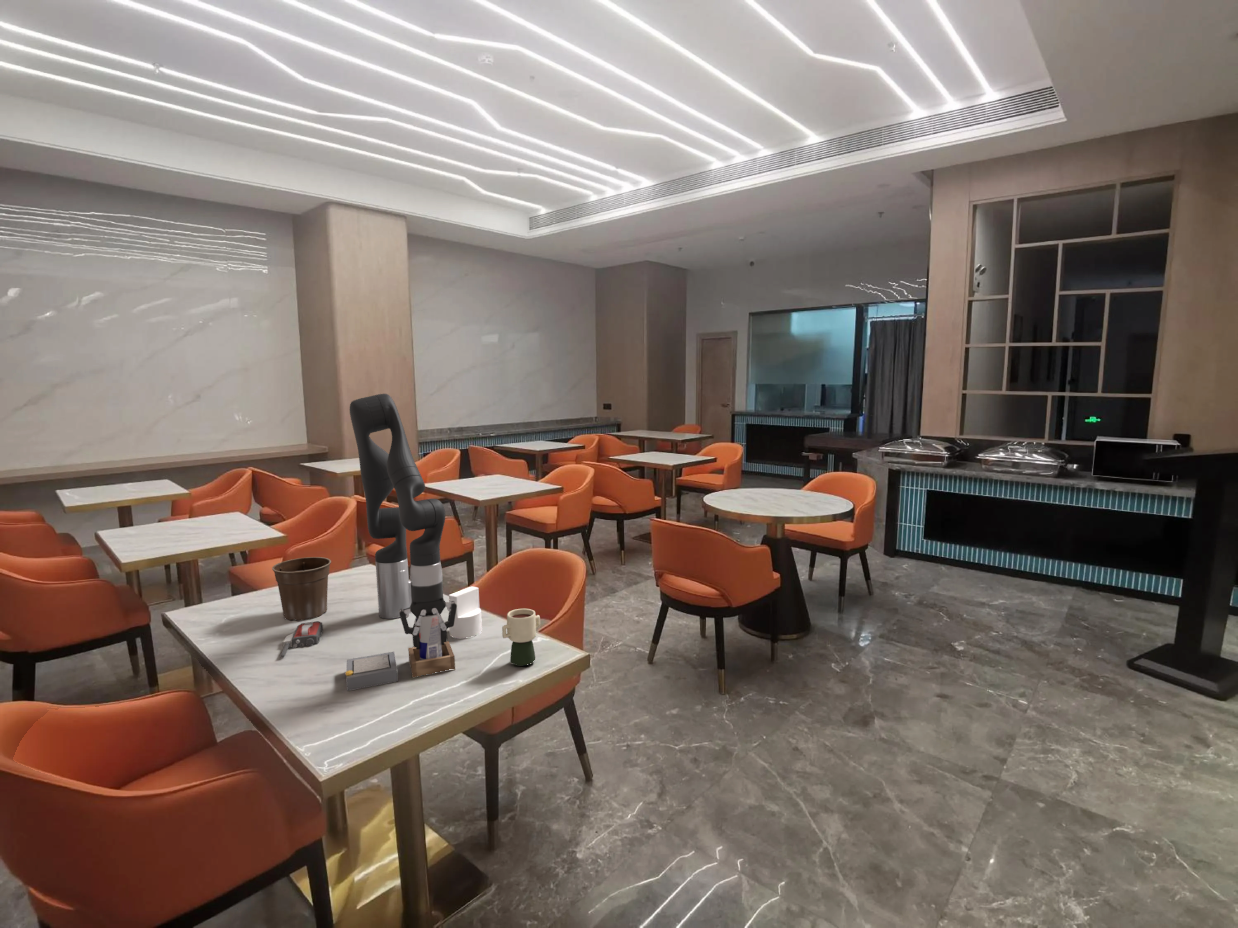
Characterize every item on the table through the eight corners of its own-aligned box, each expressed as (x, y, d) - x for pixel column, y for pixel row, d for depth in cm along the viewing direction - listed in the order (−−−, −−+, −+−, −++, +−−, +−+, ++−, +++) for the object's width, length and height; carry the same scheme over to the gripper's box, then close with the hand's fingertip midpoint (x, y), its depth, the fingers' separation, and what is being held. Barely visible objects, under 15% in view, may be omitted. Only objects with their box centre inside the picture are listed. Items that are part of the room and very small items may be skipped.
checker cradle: (394, 662, 156) (394, 649, 156) (397, 681, 146) (396, 666, 146) (346, 671, 152) (345, 657, 152) (346, 690, 142) (345, 675, 142)
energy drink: (422, 655, 157) (420, 609, 155) (444, 654, 157) (441, 608, 156) (417, 664, 151) (414, 617, 150) (439, 663, 152) (437, 616, 150)
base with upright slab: (465, 640, 169) (463, 598, 168) (442, 634, 174) (440, 593, 173) (488, 629, 177) (486, 589, 176) (466, 623, 182) (464, 584, 180)
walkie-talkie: (290, 633, 178) (277, 662, 159) (289, 618, 177) (276, 645, 159) (324, 629, 181) (315, 656, 162) (323, 614, 180) (314, 640, 161)
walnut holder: (449, 653, 161) (448, 641, 161) (455, 669, 152) (454, 655, 152) (409, 661, 157) (408, 647, 157) (412, 677, 148) (411, 663, 148)
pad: (388, 659, 154) (387, 654, 154) (389, 672, 147) (389, 666, 147) (354, 665, 151) (353, 660, 151) (354, 679, 144) (353, 673, 144)
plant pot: (343, 612, 193) (340, 562, 191) (289, 628, 181) (284, 574, 179) (321, 601, 203) (317, 553, 201) (268, 615, 191) (263, 565, 189)
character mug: (533, 652, 161) (531, 604, 160) (549, 661, 156) (547, 611, 154) (496, 665, 154) (494, 615, 152) (511, 674, 149) (509, 622, 147)
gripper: (454, 572, 158) (457, 635, 160) (394, 579, 153) (398, 645, 155) (458, 580, 151) (461, 646, 153) (396, 588, 146) (400, 657, 148)
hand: (430, 645), depth 154 cm, fingers closed on energy drink, 5 cm apart
